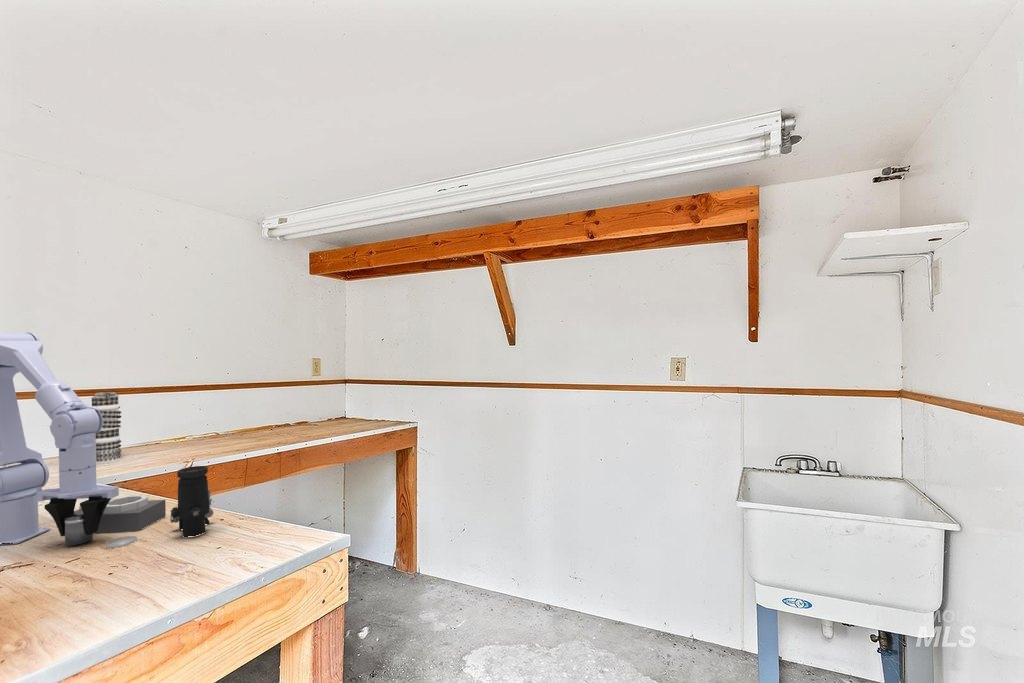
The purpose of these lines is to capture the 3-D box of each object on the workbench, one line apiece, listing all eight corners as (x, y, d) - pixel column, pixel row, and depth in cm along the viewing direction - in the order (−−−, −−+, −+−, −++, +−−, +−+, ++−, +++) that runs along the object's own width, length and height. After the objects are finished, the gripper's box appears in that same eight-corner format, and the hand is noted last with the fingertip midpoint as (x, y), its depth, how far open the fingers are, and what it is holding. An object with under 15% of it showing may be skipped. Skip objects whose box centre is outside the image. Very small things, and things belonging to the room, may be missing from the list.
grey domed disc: (99, 550, 97) (99, 546, 97) (118, 540, 102) (118, 536, 102) (125, 549, 98) (125, 545, 98) (143, 539, 103) (143, 535, 103)
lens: (58, 545, 98) (57, 518, 98) (77, 537, 103) (76, 510, 103) (82, 544, 98) (81, 517, 98) (99, 536, 103) (98, 509, 103)
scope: (211, 460, 111) (218, 468, 104) (212, 521, 111) (219, 534, 103) (167, 467, 106) (171, 476, 98) (169, 531, 106) (173, 544, 98)
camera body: (71, 534, 106) (70, 508, 106) (103, 519, 115) (103, 495, 115) (139, 531, 106) (138, 505, 107) (165, 516, 115) (165, 492, 116)
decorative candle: (87, 462, 177) (85, 393, 178) (119, 457, 184) (117, 390, 185) (92, 465, 172) (90, 394, 172) (125, 460, 179) (123, 391, 179)
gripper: (22, 474, 96) (23, 543, 96) (99, 471, 97) (101, 539, 97) (53, 465, 103) (55, 529, 103) (125, 462, 104) (126, 526, 104)
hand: (79, 533), depth 101 cm, fingers closed on lens, 4 cm apart
